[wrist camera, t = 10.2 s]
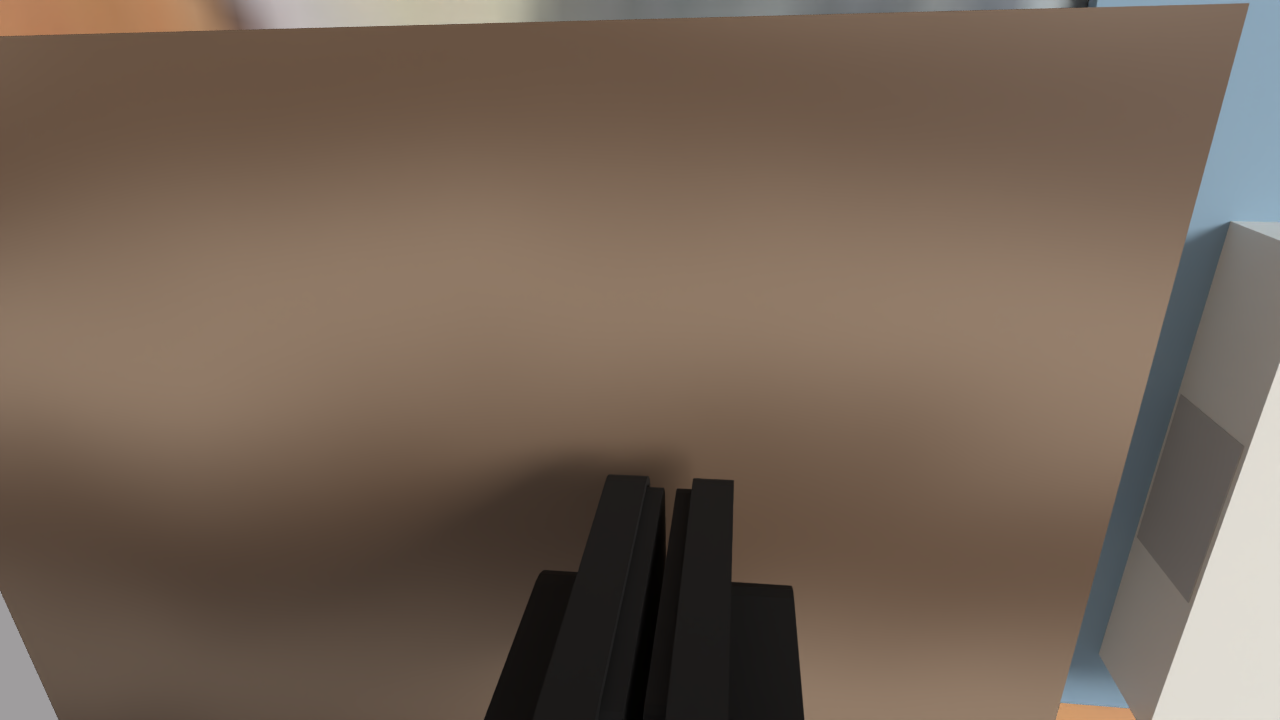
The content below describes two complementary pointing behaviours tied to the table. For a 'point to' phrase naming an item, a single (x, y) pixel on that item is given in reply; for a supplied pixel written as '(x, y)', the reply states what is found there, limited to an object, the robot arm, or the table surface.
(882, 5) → the table surface
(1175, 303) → the mat
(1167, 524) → the off-white flat slab
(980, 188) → the brown wooden block
